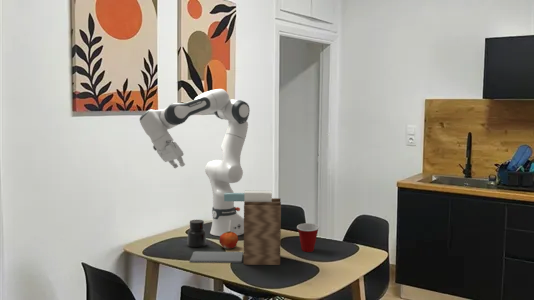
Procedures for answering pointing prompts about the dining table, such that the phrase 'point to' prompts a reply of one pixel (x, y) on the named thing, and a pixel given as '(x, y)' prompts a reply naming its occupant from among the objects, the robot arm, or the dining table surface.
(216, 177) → the robot arm
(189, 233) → the ink bottle
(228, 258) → the mat
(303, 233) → the plastic cup
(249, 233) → the stand
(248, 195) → the block
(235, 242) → the tomato
